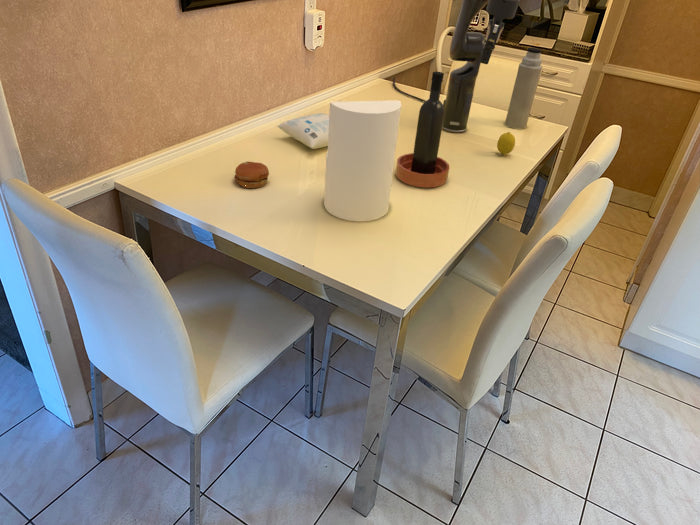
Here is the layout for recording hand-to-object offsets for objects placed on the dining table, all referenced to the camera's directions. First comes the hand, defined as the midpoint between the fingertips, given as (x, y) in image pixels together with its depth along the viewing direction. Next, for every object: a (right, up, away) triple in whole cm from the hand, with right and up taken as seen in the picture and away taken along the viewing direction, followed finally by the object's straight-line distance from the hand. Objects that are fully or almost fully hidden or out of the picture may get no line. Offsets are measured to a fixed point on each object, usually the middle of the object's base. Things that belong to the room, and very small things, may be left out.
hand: (484, 59), depth 144 cm
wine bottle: (-16, -30, +13) cm, 36 cm away
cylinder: (-35, -41, -4) cm, 54 cm away
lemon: (+14, -20, +32) cm, 40 cm away
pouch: (-48, -16, +31) cm, 59 cm away
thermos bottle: (+27, -3, +57) cm, 63 cm away
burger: (-65, -33, +4) cm, 73 cm away
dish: (-16, -31, +13) cm, 37 cm away
